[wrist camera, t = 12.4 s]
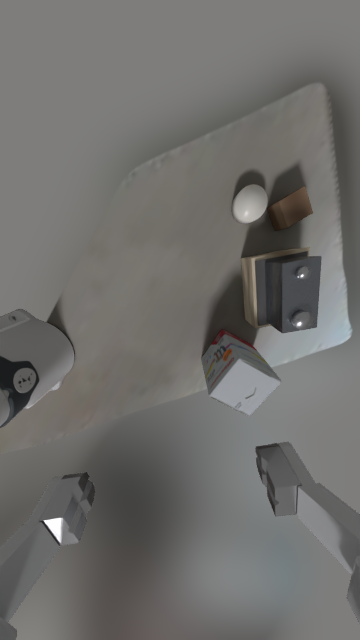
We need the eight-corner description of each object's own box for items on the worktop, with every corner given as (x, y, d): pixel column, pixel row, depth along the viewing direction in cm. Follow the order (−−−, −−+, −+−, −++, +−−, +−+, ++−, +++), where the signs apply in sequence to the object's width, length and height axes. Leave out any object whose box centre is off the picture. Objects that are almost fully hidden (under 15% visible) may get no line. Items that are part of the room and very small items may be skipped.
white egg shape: (232, 226, 32) (236, 224, 29) (229, 193, 30) (234, 187, 28) (261, 220, 31) (267, 217, 29) (260, 187, 30) (267, 181, 28)
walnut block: (274, 231, 32) (287, 227, 28) (266, 208, 31) (278, 201, 27) (296, 218, 31) (313, 212, 28) (288, 194, 30) (304, 185, 26)
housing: (264, 262, 28) (286, 263, 23) (297, 256, 28) (327, 256, 22) (266, 322, 32) (286, 336, 26) (295, 316, 31) (321, 329, 26)
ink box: (221, 327, 38) (240, 357, 26) (254, 346, 39) (285, 381, 28) (199, 359, 40) (208, 398, 29) (230, 375, 42) (250, 419, 30)
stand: (245, 319, 37) (256, 329, 32) (240, 258, 33) (252, 258, 28) (289, 311, 37) (307, 320, 32) (290, 248, 33) (311, 247, 28)
